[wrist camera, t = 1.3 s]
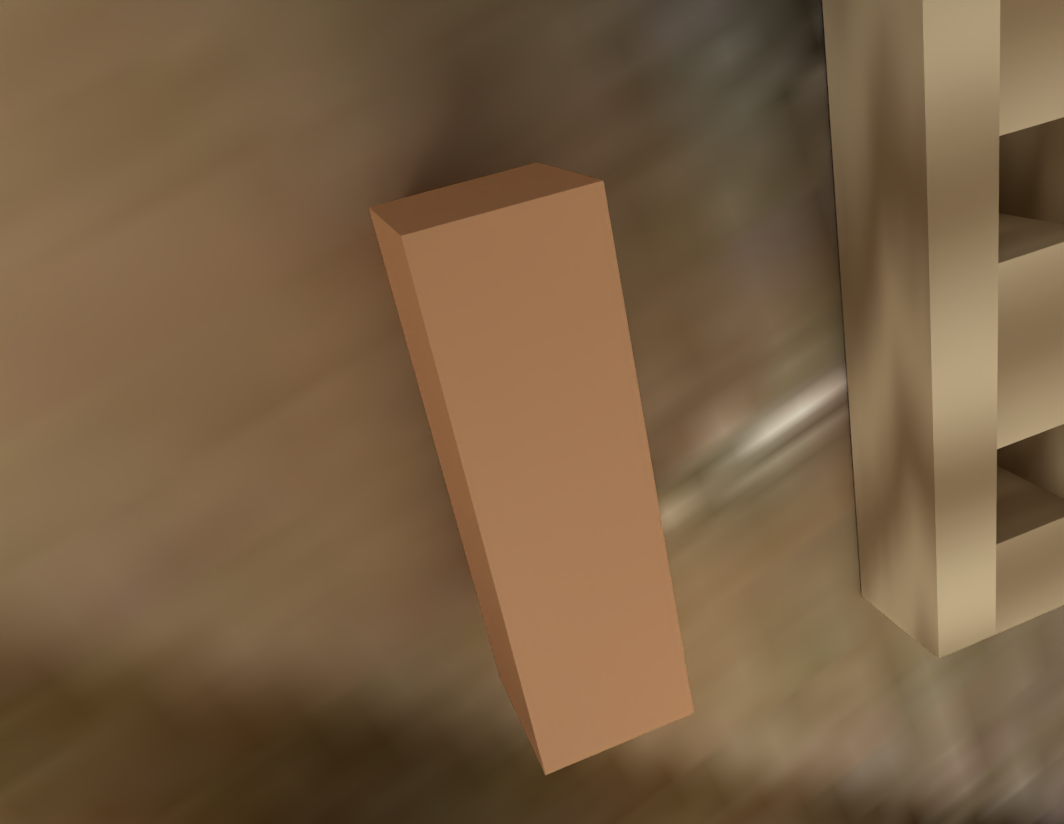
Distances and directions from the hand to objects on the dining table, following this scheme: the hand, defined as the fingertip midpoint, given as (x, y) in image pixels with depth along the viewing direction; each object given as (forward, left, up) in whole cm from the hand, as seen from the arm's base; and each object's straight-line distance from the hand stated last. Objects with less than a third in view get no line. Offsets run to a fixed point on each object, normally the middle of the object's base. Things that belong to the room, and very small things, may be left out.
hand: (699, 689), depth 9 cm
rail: (+1, -13, -11) cm, 17 cm away
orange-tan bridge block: (-1, -1, -11) cm, 11 cm away
